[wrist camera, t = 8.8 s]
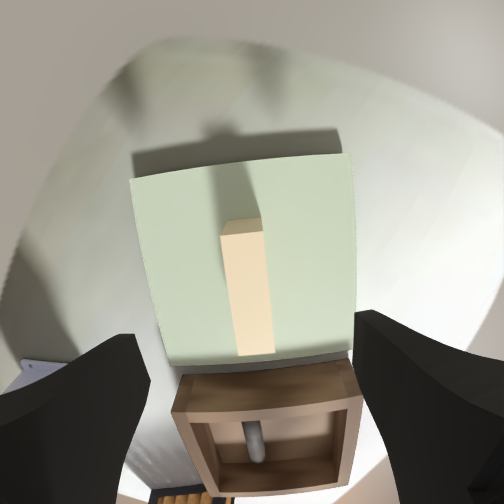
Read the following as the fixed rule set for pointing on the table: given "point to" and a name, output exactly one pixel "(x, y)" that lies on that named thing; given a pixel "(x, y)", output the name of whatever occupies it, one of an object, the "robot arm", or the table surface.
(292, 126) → the table surface
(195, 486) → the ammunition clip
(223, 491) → the wooden open box
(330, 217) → the lid
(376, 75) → the table surface
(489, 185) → the table surface
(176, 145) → the table surface
